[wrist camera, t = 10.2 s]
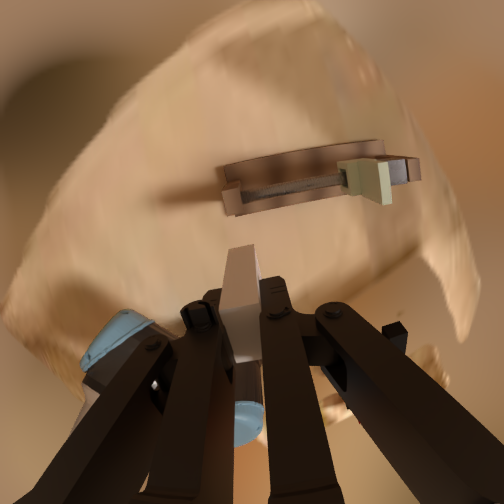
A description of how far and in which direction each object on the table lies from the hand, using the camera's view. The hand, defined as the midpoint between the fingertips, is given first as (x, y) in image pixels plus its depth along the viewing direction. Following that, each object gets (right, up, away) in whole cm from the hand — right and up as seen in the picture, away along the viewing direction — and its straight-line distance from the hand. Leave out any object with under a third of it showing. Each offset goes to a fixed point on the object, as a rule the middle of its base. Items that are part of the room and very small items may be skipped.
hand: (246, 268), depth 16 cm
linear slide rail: (+10, +13, +26) cm, 30 cm away
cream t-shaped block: (+14, +11, +18) cm, 25 cm away
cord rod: (+10, +10, +18) cm, 23 cm away
